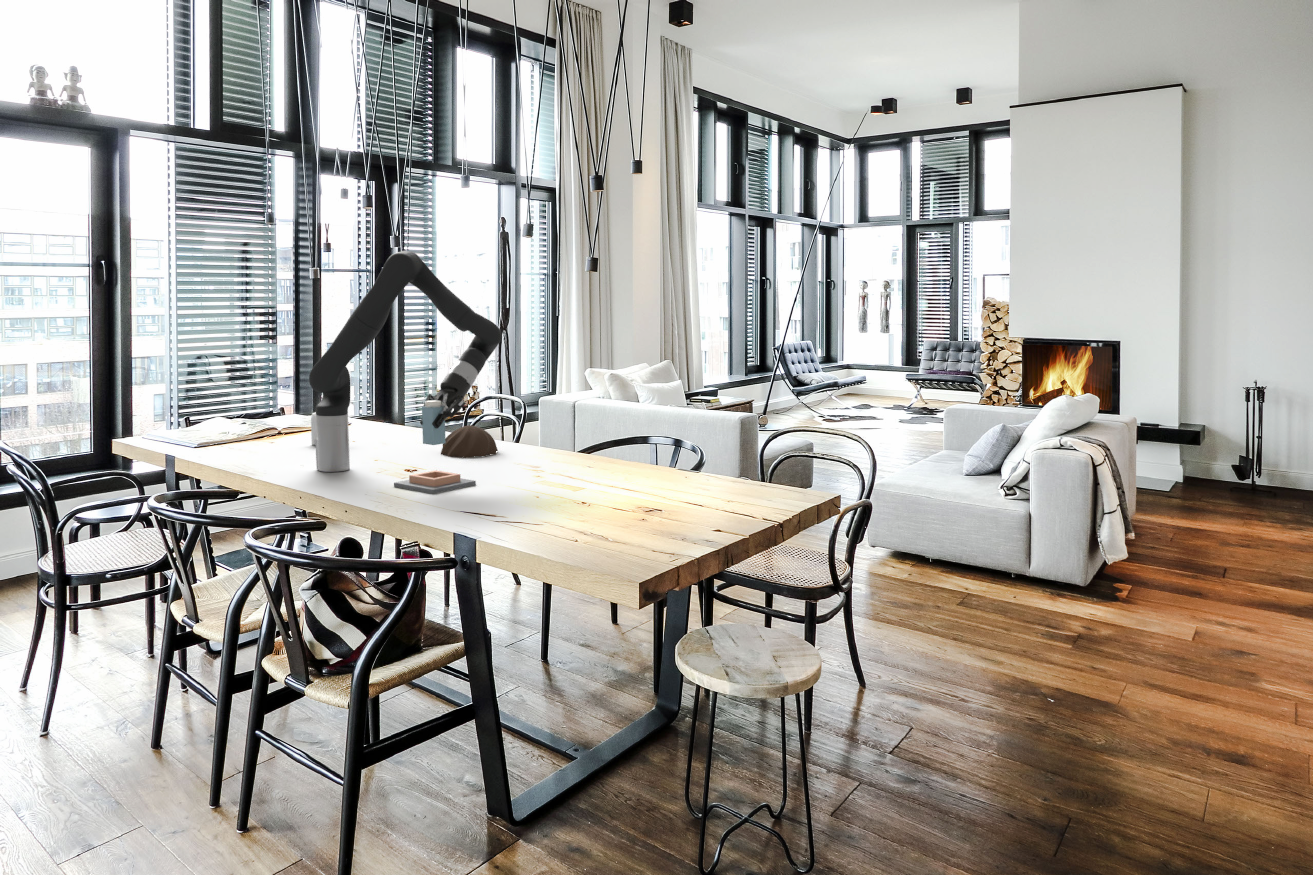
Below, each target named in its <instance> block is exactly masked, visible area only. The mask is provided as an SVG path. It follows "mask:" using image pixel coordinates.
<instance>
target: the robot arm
mask: <svg viewBox="0 0 1313 875" xmlns="http://www.w3.org/2000/svg"><path fill="white" fill-rule="evenodd" d="M409 284H410V285H412V286H414V287H415V288H416V289H418V290H420V291H421V292H422V293H423V294H424V295H425V296H426V297H427V298H429V300H430V302H432V304H433V305H434V307H435V308H436V309H437V310H438V312H439V313H440V314H441V315H442V316H443V317H444V318H445V319H446V320H447V321H448V322H450V323H451V324H452V325H453V326H454V327H456V328H457V329H458V330H459V331H460V332H467V331H468V332H469V333H471V334H474V337H473V339H472V340H471V342H470V343H469V345H468V347H467V348H466V350H464V351H463V352H462V354H461V356H460V357H459V359H458V360H457V362H456V363H454V364H453V366H452V367H451V368H450V370H449V372H447V374H446V376H445V377H444V379H442V382H441V383H440V390H439V391H438V392H436V394H435V395H432V394H431V393H429V394H428V395H427V396H426V399H425V401H433V400H435V401H441V407H442V409H441V411H440V414H438V416H437V417H436V418H435V420H434V421H433V423H432V425H433V426H434V427H435V428H439V427H440V426H441V424H442V423H443V421H444V420H445V421H446V420H447V419H448V418H451V419H452V418H453V417H454V416H455V415H456V414H457V413H459V411H461V409H462V408H464V406H465V405H466V402H465V401H464V398H465V396H466V395H467V393H468V392H469V390H470V389H471V388H472V386H473V384H474V383H475V382H476V379H477V377H478V376H479V374H480V372H481V371H482V369H483V368H484V366H485V364H486V362H487V360H488V359H489V358H490V357H491V355H492V354H493V353H494V351H495V350H496V348H497V347H498V346H499V344H500V342H501V341H502V338H503V336H502V335H503V334H502V331H501V329H500V328H499V327H498V325H496V324H495V322H493V321H492V320H490V319H488V318H486V317H485V316H483V315H480V314H478V313H477V312H475V310H473V309H472V308H471V307H470V306H468V305H467V304H466V303H465V302H464V301H463V300H462V299H460V298H459V297H458V296H457V295H456V294H455V293H453V292H452V291H451V290H450V289H449V288H448V287H447V286H446V285H445V284H444V283H443V282H442V281H441V280H440V279H439V278H438V277H437V276H436V274H434V273H433V272H432V270H431V269H430V268H429V267H428V266H427V264H426V263H425V262H424V261H423V259H422V258H421V257H420V256H419V255H418V254H417V253H415V252H414V251H411V250H401V251H396V252H394V253H392V254H391V255H390V256H388V258H387V259H386V261H385V262H384V264H383V266H382V268H381V270H380V272H379V274H378V277H377V278H376V280H375V282H374V284H373V285H372V286H371V288H370V289H369V290H368V292H367V293H366V294H365V296H364V297H363V298H362V300H361V301H360V303H359V304H357V306H356V307H355V309H354V310H353V312H352V313H351V315H350V316H349V318H348V319H347V321H346V323H345V324H344V326H343V327H342V329H341V330H340V331H339V333H338V335H337V336H336V337H335V339H334V341H333V342H332V343H331V345H330V346H329V347H328V349H327V350H326V351H325V353H324V354H323V355H322V356H321V357H320V358H319V360H318V361H317V362H315V364H314V366H312V368H311V370H310V372H309V376H308V377H309V378H308V382H309V385H310V388H311V389H312V390H313V391H315V392H317V393H319V394H320V393H321V394H322V397H321V400H320V402H319V403H318V404H316V406H315V412H316V424H317V439H316V440H315V442H316V445H315V460H316V464H315V465H316V470H318V471H319V472H323V473H325V472H326V473H329V472H331V473H332V472H333V473H335V472H338V473H339V472H344V471H348V470H350V469H351V467H350V466H351V464H350V463H351V462H350V439H349V438H350V436H349V434H350V433H349V431H350V430H349V408H350V407H349V406H350V404H351V375H350V371H349V369H348V368H347V365H348V364H349V363H350V362H351V360H352V359H353V358H354V357H356V356H357V355H358V354H360V353H361V352H362V351H363V350H365V349H366V348H367V347H368V346H369V345H370V344H371V343H372V342H373V341H374V340H375V339H376V337H377V335H378V334H380V331H381V330H382V329H383V327H384V325H385V323H386V322H387V320H388V317H389V315H390V312H391V308H392V305H393V303H394V302H395V301H396V299H397V297H398V296H399V295H400V293H401V292H402V291H403V290H404V289H405V288H406V287H407V286H408V285H409ZM424 406H425V402H424V404H423V406H422V407H424ZM419 423H420V425H421V426H422V424H423V422H422V418H421V419H420V420H419Z"/></svg>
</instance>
